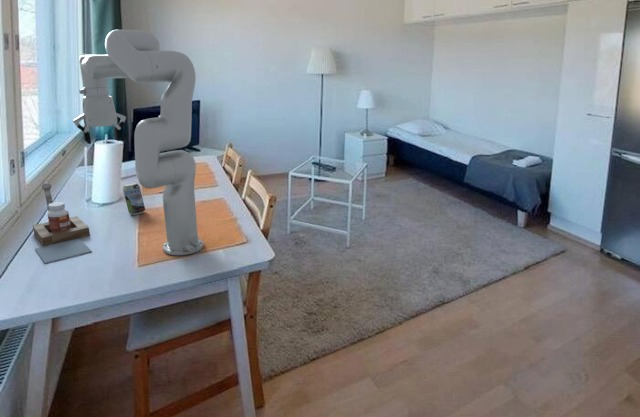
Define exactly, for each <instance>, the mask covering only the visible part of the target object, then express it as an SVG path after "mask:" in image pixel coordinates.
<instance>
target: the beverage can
mask: <svg viewBox="0 0 640 417" xmlns="http://www.w3.org/2000/svg"><path fill="white" fill-rule="evenodd" d="M140 186H141V185H139V184H138V182H129V183H127V184H126V183H125V184H124V185H123V188H122V192H123V195H124V200H125V203H126V206H127V210H128V214H131V215H132V216H133V215H134V216H136V215H140V214H143V213H144V212H145V210H146V206H145V203H144V199H143V198H144V197H143V194H142V191H141V187H140Z"/></svg>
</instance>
